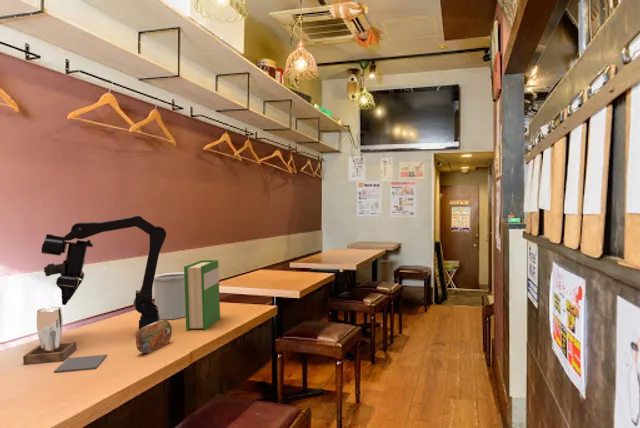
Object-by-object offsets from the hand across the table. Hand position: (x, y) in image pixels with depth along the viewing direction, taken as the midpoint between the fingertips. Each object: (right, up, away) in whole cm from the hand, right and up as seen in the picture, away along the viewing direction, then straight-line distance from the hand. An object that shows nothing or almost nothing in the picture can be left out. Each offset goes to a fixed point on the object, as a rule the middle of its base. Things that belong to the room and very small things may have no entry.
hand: (66, 302), depth 150 cm
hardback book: (+43, -13, +19) cm, 49 cm away
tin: (+34, -14, -9) cm, 38 cm away
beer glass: (+4, -14, -14) cm, 21 cm away
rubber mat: (+17, -14, -22) cm, 31 cm away
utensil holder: (+26, -13, +34) cm, 44 cm away
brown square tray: (+4, -14, -14) cm, 21 cm away
